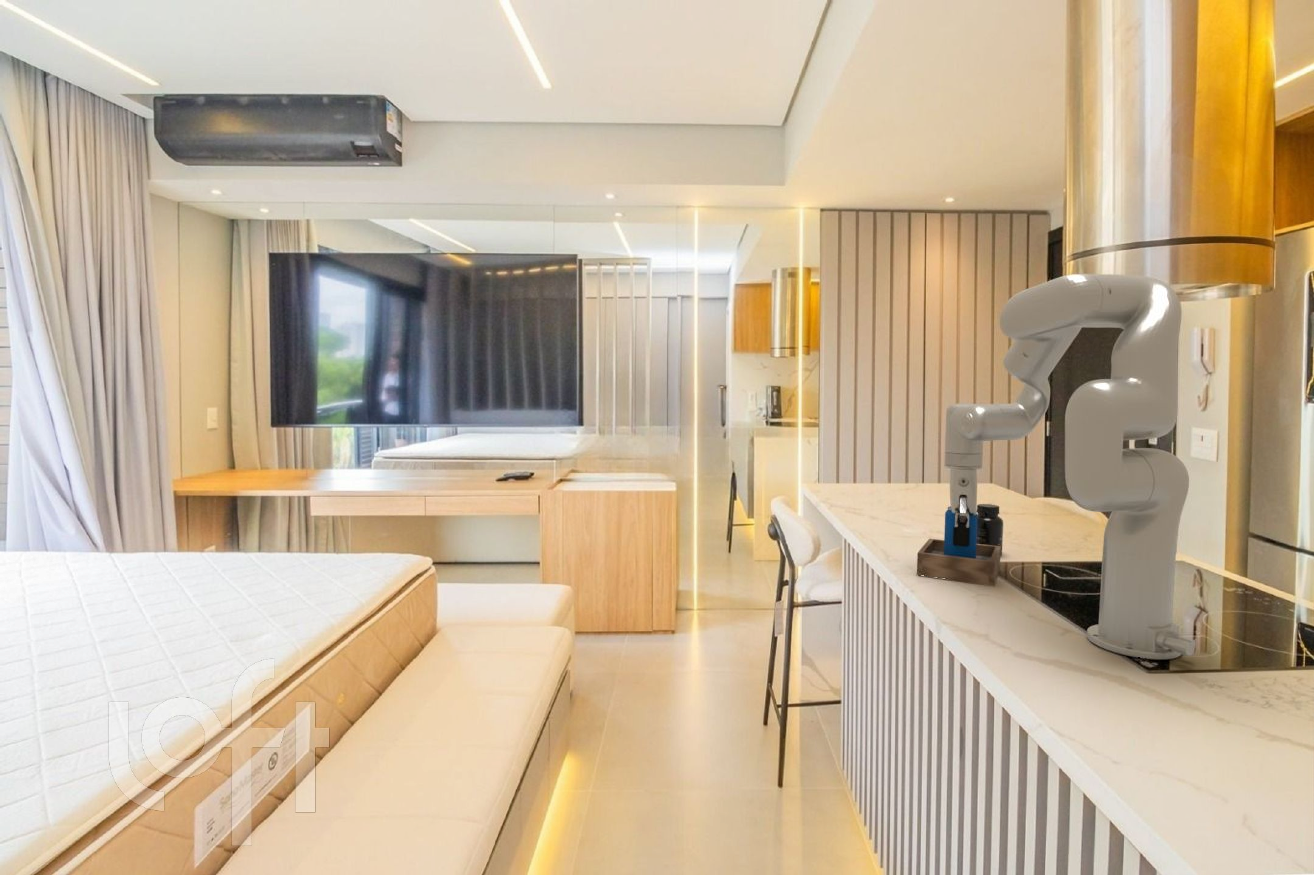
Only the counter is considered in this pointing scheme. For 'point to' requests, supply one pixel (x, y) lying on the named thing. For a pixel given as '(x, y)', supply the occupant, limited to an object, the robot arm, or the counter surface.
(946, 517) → the beverage can
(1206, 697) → the counter surface
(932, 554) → the bore box
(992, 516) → the supplement bottle
